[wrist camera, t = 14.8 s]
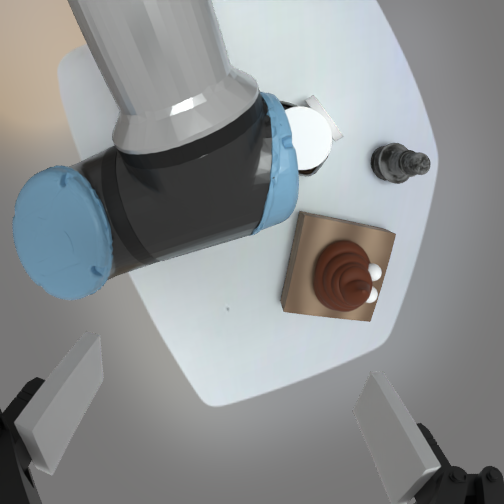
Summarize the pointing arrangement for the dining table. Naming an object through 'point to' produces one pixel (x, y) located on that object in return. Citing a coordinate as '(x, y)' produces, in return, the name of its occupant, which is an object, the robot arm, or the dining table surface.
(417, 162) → the salt shaker
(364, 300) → the poop emoji
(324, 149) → the spread jar
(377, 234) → the walnut base
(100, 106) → the dining table surface
